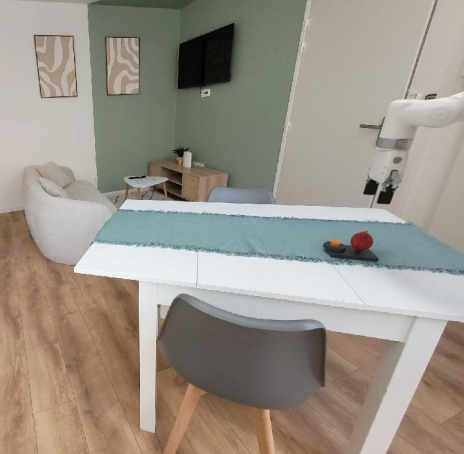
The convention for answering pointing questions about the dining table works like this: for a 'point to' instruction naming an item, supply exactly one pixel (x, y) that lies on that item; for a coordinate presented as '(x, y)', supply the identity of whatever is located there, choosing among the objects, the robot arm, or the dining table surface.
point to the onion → (362, 241)
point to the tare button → (335, 243)
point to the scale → (349, 252)
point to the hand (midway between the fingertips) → (375, 199)
